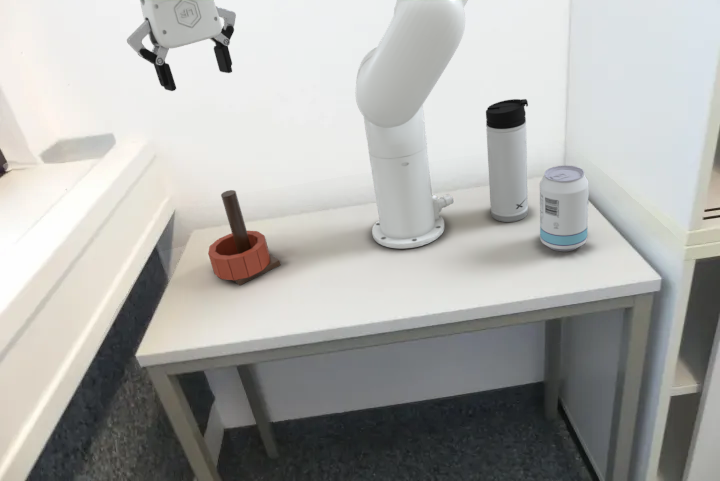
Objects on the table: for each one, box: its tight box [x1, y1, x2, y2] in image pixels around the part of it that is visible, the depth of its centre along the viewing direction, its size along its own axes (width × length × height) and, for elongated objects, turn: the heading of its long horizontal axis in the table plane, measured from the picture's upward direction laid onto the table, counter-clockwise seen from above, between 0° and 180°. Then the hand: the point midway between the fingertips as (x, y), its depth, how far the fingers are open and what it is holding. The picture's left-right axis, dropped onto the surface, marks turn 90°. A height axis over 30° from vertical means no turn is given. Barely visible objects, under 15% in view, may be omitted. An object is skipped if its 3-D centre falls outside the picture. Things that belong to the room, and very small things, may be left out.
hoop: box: [207, 230, 271, 281], centre depth 101 cm, size 9×9×4 cm
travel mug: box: [485, 98, 529, 223], centre depth 100 cm, size 6×7×20 cm
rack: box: [220, 189, 282, 286], centre depth 99 cm, size 8×8×14 cm
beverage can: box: [539, 164, 590, 252], centre depth 91 cm, size 7×7×12 cm
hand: (199, 80), depth 93 cm, fingers open, 9 cm apart
